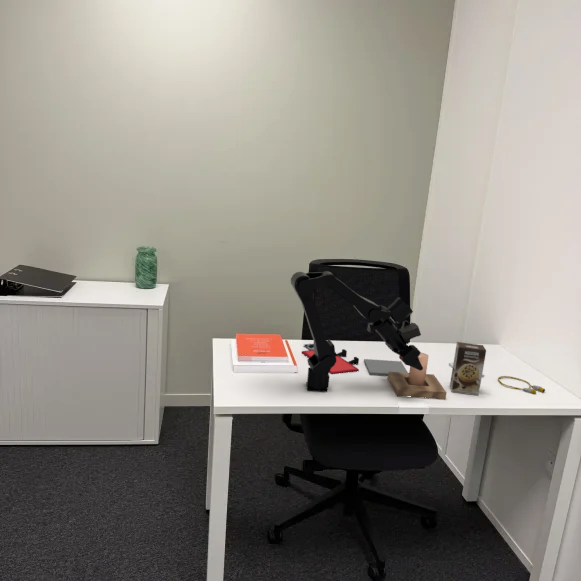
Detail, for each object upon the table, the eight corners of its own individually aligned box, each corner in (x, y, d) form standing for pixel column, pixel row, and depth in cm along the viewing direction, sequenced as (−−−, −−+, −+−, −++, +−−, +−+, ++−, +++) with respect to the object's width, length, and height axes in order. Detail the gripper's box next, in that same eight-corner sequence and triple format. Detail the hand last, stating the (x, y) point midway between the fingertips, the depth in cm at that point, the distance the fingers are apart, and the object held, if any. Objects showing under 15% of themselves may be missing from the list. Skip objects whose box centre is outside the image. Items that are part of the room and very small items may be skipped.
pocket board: (396, 396, 200) (397, 389, 199) (387, 378, 215) (388, 371, 215) (445, 399, 201) (446, 392, 200) (432, 381, 216) (433, 374, 216)
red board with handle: (325, 344, 248) (292, 348, 241) (326, 337, 247) (293, 341, 240) (367, 371, 222) (331, 376, 215) (368, 364, 221) (332, 369, 214)
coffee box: (451, 392, 207) (458, 346, 204) (449, 385, 214) (456, 341, 210) (479, 396, 206) (486, 350, 203) (476, 388, 213) (483, 344, 209)
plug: (409, 391, 205) (413, 357, 203) (405, 384, 211) (410, 351, 208) (425, 392, 206) (430, 358, 203) (421, 386, 211) (426, 352, 208)
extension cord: (517, 396, 210) (518, 391, 210) (490, 379, 225) (491, 374, 224) (547, 395, 213) (548, 389, 213) (519, 378, 228) (520, 373, 228)
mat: (369, 375, 217) (370, 372, 217) (363, 361, 231) (364, 358, 231) (409, 377, 218) (409, 374, 218) (400, 363, 231) (401, 361, 231)
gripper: (418, 324, 192) (446, 358, 197) (397, 308, 210) (424, 339, 215) (391, 348, 193) (420, 381, 197) (373, 330, 211) (400, 361, 215)
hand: (416, 364), depth 206 cm, fingers open, 9 cm apart
